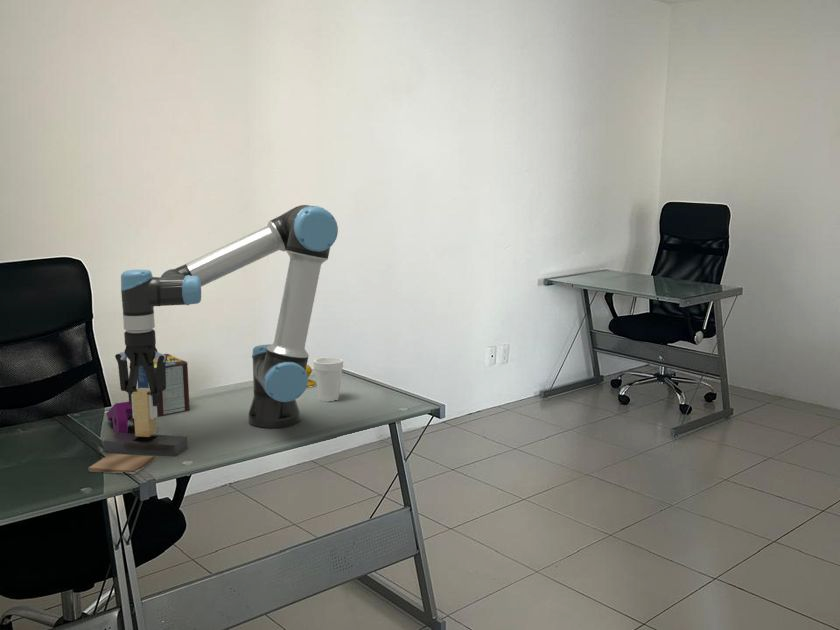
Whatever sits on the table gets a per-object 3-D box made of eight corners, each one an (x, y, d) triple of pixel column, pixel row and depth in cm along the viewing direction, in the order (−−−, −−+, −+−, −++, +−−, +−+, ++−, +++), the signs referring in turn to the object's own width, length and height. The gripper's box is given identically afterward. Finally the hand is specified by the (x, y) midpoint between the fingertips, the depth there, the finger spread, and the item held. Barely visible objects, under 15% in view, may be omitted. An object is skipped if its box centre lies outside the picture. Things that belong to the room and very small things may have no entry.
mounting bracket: (108, 443, 226) (120, 433, 211) (104, 415, 228) (115, 403, 213) (141, 438, 231) (155, 427, 217) (137, 410, 233) (150, 398, 218)
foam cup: (341, 403, 248) (341, 364, 246) (312, 403, 248) (312, 363, 246) (344, 395, 257) (344, 357, 255) (316, 394, 258) (316, 357, 255)
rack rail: (187, 447, 206) (187, 436, 206) (175, 456, 199) (175, 445, 199) (117, 442, 209) (117, 432, 209) (103, 451, 202) (102, 440, 202)
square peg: (157, 432, 205) (154, 388, 203) (149, 436, 201) (146, 392, 199) (142, 431, 206) (140, 387, 204) (135, 436, 202) (132, 391, 200)
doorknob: (287, 386, 268) (302, 381, 275) (305, 389, 264) (320, 384, 271) (287, 365, 267) (302, 361, 273) (304, 368, 263) (320, 364, 269)
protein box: (170, 399, 250) (167, 353, 248) (190, 410, 239) (188, 362, 236) (137, 405, 244) (135, 357, 241) (157, 417, 232) (154, 367, 229)
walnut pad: (154, 460, 197) (154, 456, 196) (134, 474, 187) (134, 470, 187) (110, 457, 198) (110, 453, 198) (88, 471, 189) (88, 467, 188)
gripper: (177, 328, 201) (182, 414, 205) (116, 326, 204) (122, 411, 208) (163, 333, 194) (169, 423, 198) (100, 331, 196) (107, 420, 200)
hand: (145, 417), depth 203 cm, fingers closed on square peg, 4 cm apart
